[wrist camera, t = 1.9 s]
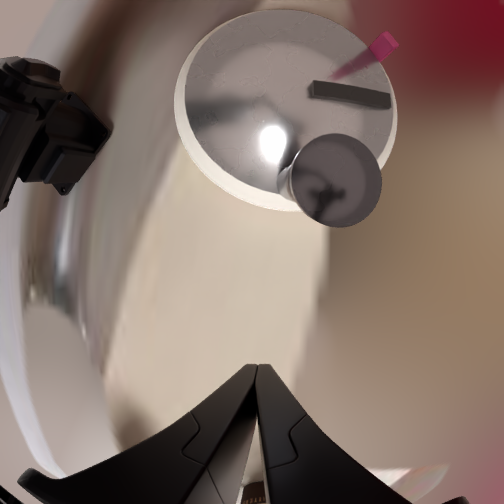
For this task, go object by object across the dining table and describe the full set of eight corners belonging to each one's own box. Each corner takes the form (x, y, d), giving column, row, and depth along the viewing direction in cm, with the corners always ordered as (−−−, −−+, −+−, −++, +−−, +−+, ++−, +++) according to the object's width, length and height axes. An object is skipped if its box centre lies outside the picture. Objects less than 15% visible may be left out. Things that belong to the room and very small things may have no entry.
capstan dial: (184, 203, 17) (108, 224, 7) (196, 17, 14) (162, -74, 4) (386, 211, 17) (489, 237, 7) (377, 32, 14) (441, -36, 4)
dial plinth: (258, 250, 20) (260, 271, 15) (144, 86, 17) (116, 61, 12) (418, 146, 18) (457, 139, 13) (308, -1, 15) (320, -36, 10)
